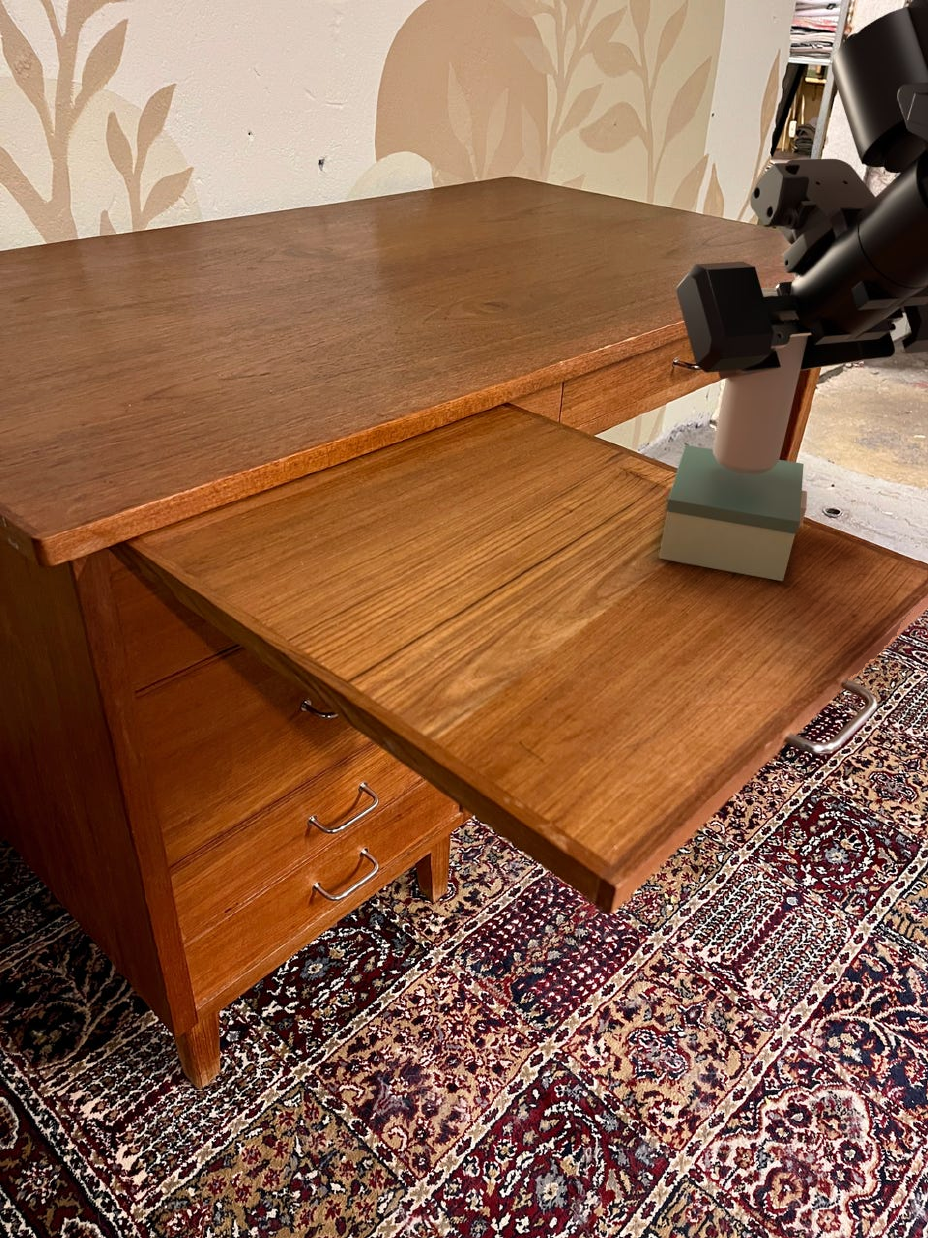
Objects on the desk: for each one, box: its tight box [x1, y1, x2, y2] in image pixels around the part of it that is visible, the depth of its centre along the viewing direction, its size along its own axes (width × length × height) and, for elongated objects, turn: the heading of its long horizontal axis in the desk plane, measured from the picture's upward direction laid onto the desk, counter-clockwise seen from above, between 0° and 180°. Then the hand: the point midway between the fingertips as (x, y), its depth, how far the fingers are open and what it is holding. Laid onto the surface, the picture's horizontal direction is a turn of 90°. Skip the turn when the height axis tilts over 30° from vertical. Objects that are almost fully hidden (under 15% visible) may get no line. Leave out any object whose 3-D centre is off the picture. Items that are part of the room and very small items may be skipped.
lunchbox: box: [658, 444, 808, 582], centre depth 74 cm, size 10×10×5 cm
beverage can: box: [712, 287, 808, 474], centre depth 68 cm, size 5×5×12 cm
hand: (751, 369), depth 69 cm, fingers closed on beverage can, 5 cm apart
